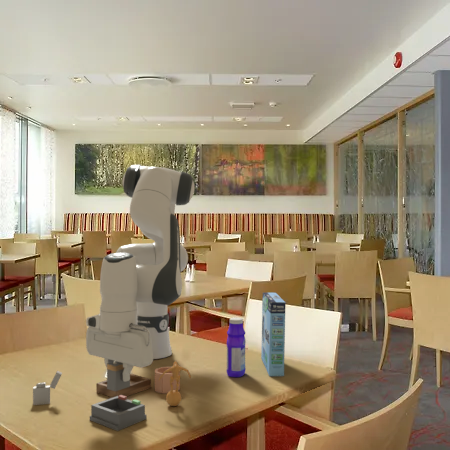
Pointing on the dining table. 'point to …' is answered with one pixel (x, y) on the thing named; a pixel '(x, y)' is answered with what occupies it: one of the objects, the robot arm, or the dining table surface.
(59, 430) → the dining table surface
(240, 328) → the bottle
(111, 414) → the tray
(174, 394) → the figurine
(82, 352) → the dining table surface
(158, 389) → the pink octagonal pot
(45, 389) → the lighter
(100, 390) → the brown wooden tray
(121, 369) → the battery
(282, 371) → the gum box
